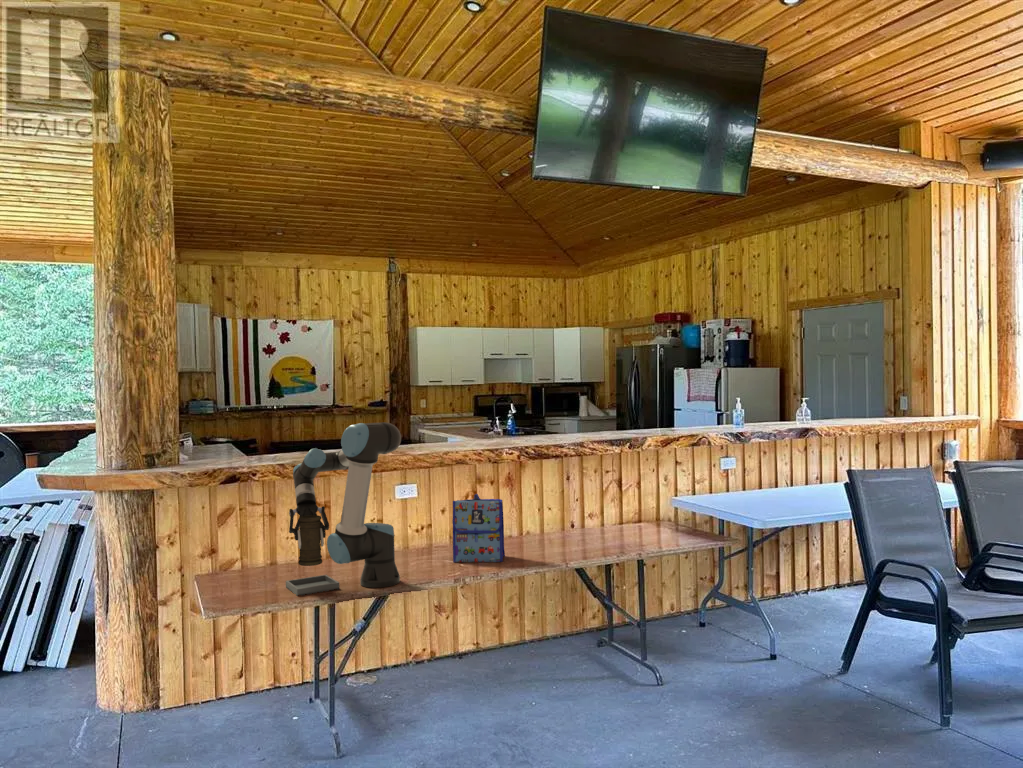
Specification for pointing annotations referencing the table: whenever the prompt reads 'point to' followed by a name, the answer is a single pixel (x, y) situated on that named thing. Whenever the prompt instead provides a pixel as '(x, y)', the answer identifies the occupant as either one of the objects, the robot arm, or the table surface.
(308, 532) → the container
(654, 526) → the table surface
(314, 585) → the tray
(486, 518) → the lunch bag
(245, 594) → the table surface
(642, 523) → the table surface
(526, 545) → the table surface
